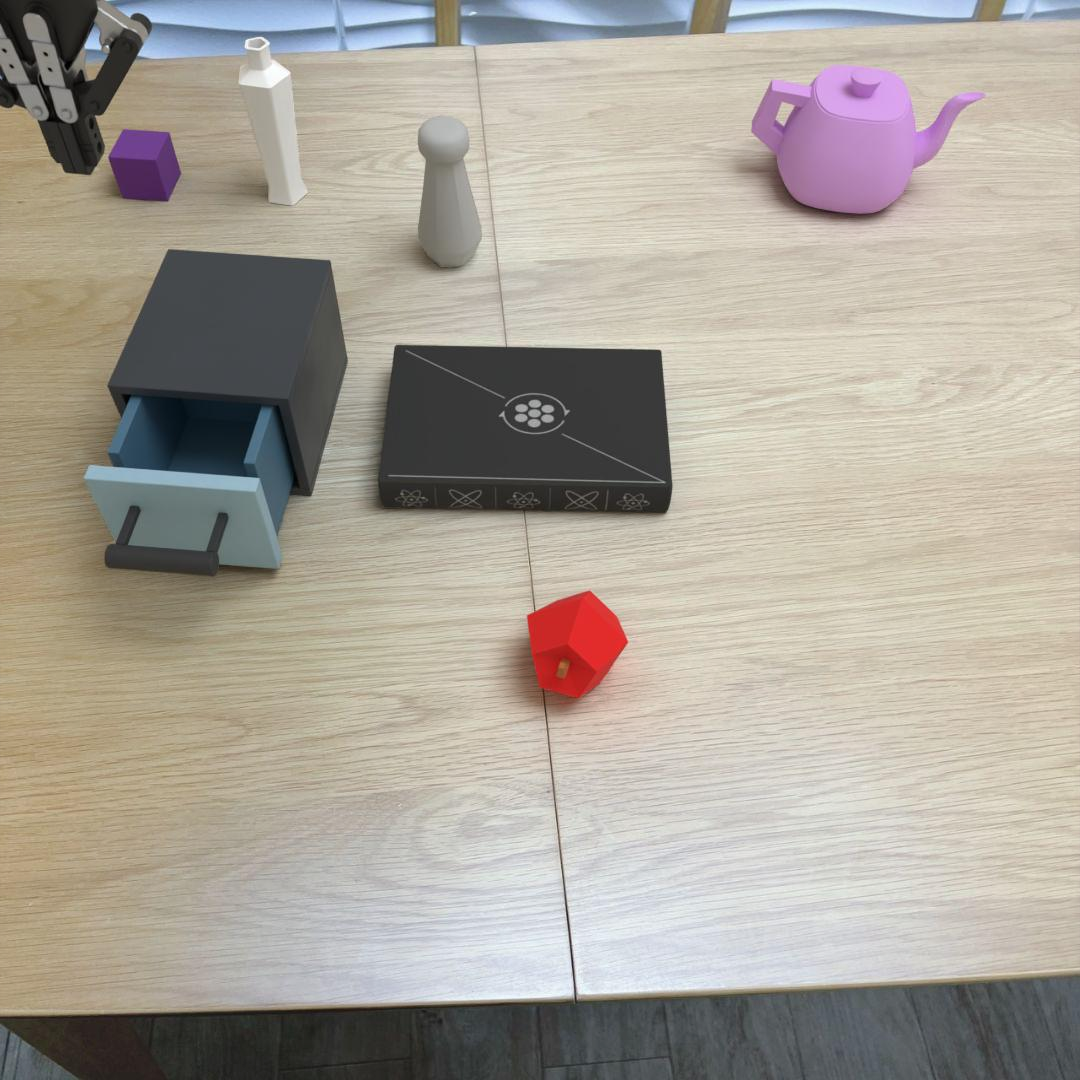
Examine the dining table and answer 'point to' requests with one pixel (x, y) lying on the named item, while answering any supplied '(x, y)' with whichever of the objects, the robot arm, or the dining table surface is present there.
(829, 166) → the teapot
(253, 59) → the white tall faceted bottle
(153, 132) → the block
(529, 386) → the book
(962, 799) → the dining table surface
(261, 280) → the dark grey cabinet
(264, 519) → the drawer
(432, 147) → the salt shaker
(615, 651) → the apple
